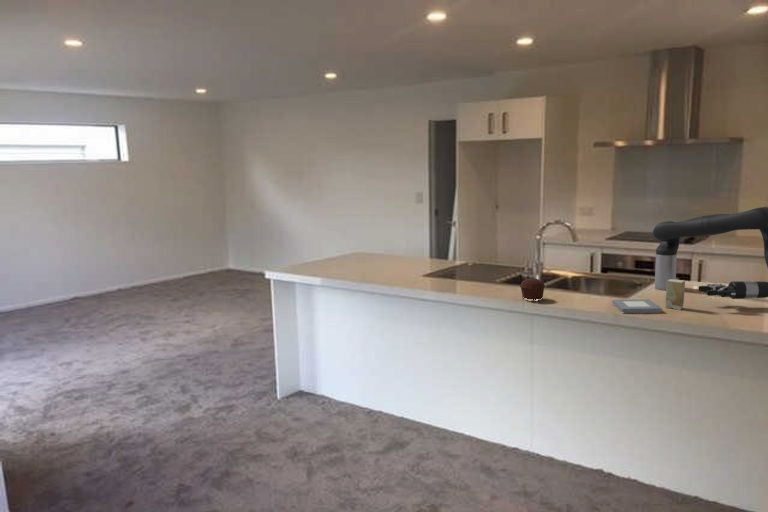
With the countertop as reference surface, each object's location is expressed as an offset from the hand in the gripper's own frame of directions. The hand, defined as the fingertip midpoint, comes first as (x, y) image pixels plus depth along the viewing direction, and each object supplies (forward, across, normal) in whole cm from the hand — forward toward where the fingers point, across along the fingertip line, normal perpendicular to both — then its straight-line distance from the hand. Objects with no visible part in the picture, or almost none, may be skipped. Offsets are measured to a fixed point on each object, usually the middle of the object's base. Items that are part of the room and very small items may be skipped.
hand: (702, 290), depth 250 cm
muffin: (+69, -18, +7) cm, 72 cm away
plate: (+27, 0, +7) cm, 28 cm away
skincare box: (+11, 0, +8) cm, 14 cm away
